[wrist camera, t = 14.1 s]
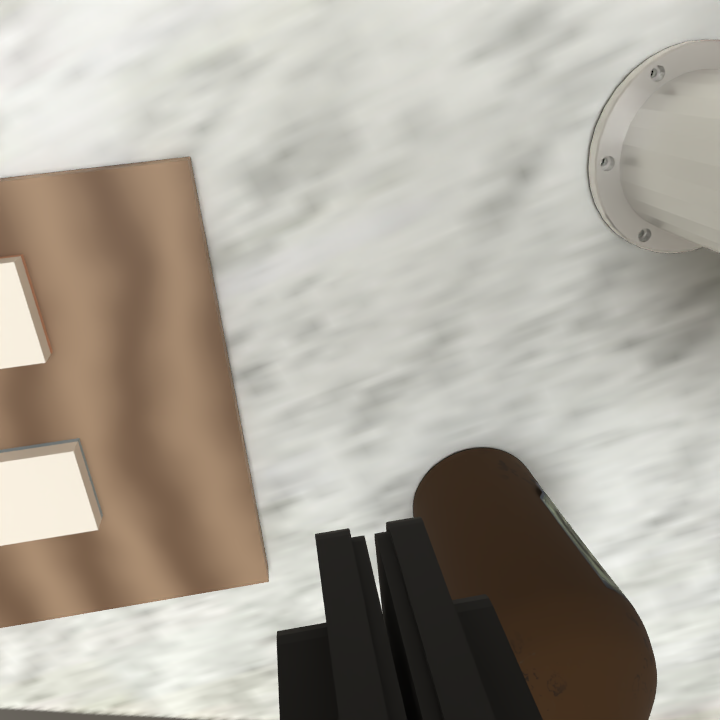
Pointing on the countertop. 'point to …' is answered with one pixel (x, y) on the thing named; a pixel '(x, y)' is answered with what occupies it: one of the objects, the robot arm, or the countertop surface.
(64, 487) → the tile
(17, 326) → the tile
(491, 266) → the countertop surface
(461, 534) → the olive oil
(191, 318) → the board
